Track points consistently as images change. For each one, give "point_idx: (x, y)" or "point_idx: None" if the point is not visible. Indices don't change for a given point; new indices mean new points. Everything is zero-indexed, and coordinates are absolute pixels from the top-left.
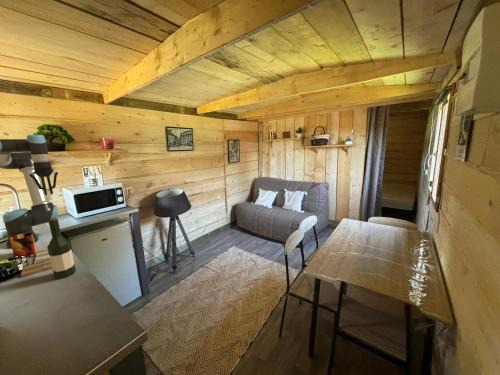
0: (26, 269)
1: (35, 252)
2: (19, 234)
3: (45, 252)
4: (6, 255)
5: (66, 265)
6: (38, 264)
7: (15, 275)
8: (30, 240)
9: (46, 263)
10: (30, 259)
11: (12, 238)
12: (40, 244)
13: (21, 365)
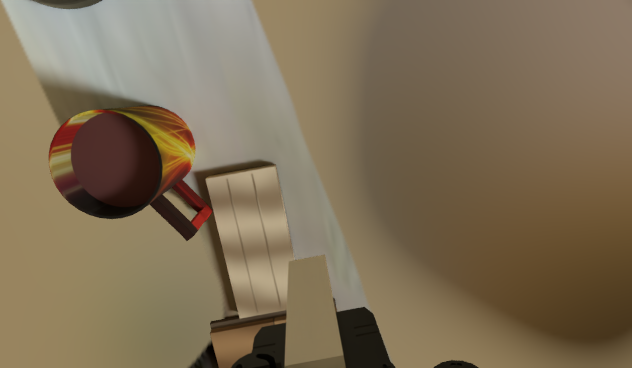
0: (231, 365)
1: (209, 214)
2: (77, 117)
3: (252, 224)
4: (58, 106)
5: None
6: None
7: (201, 363)
8: (167, 184)
9: None
10: (200, 234)
11: (58, 148)
12: (175, 30)
13: None
